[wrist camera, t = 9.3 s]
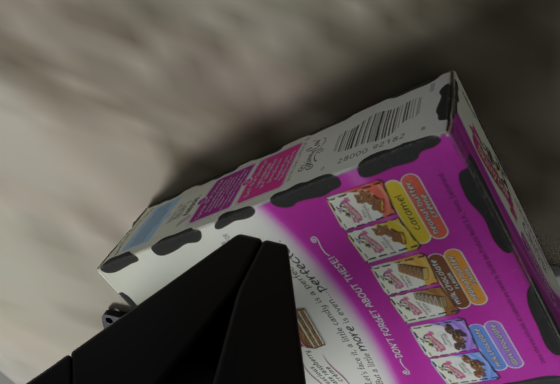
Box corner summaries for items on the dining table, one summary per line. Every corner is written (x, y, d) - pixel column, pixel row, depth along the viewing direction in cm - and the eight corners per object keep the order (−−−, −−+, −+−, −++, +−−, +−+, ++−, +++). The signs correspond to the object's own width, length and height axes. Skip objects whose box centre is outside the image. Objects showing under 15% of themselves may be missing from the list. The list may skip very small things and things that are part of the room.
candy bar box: (457, 60, 19) (142, 202, 27) (456, 125, 15) (86, 269, 23) (563, 285, 23) (261, 348, 31) (584, 383, 19) (231, 426, 27)
